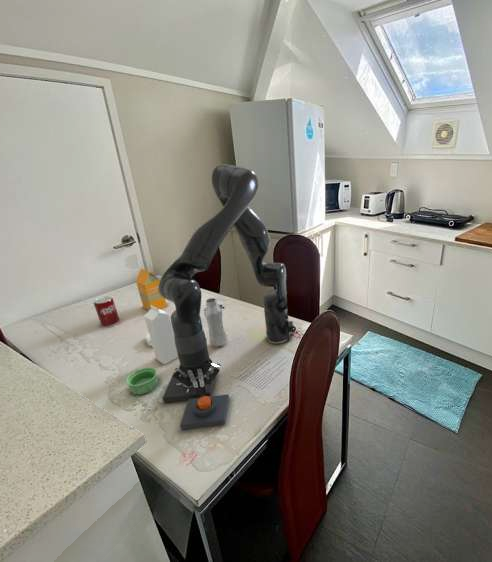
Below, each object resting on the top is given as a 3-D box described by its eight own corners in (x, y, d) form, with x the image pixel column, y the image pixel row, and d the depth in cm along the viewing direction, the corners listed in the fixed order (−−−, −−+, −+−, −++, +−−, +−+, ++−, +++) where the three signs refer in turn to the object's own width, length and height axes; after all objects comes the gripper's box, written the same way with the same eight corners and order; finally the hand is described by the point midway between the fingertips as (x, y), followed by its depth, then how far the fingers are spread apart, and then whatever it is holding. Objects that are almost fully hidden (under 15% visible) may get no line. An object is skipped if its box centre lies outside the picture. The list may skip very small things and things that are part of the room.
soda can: (97, 325, 141) (89, 301, 136) (112, 317, 147) (105, 295, 142) (108, 328, 139) (100, 304, 134) (123, 320, 145) (116, 297, 140)
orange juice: (158, 301, 162) (149, 265, 154) (167, 306, 157) (158, 269, 149) (142, 307, 156) (132, 270, 148) (151, 312, 151) (141, 274, 143)
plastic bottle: (222, 349, 123) (214, 304, 115) (207, 347, 124) (198, 303, 116) (230, 340, 129) (223, 297, 121) (215, 338, 130) (207, 295, 122)
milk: (171, 351, 123) (158, 301, 114) (179, 357, 119) (167, 305, 111) (155, 359, 118) (141, 307, 109) (164, 365, 115) (149, 312, 106)
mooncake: (168, 328, 138) (167, 321, 137) (184, 336, 132) (182, 329, 130) (141, 341, 129) (138, 333, 128) (156, 350, 123) (154, 343, 121)
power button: (212, 399, 94) (211, 395, 93) (210, 408, 91) (209, 404, 90) (199, 401, 93) (198, 396, 93) (197, 410, 90) (196, 406, 89)
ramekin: (127, 399, 99) (124, 388, 98) (131, 381, 107) (127, 371, 105) (158, 391, 103) (155, 380, 101) (160, 374, 110) (157, 364, 108)
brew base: (216, 375, 109) (215, 369, 108) (210, 398, 99) (209, 391, 98) (174, 380, 107) (172, 374, 106) (164, 404, 97) (162, 397, 96)
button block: (229, 399, 99) (227, 389, 97) (225, 425, 90) (223, 414, 88) (190, 404, 97) (187, 394, 96) (181, 430, 88) (178, 420, 86)
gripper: (160, 356, 79) (174, 407, 86) (214, 350, 81) (224, 401, 88) (169, 339, 86) (181, 388, 93) (219, 334, 88) (227, 383, 95)
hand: (202, 394), depth 90 cm, fingers closed
